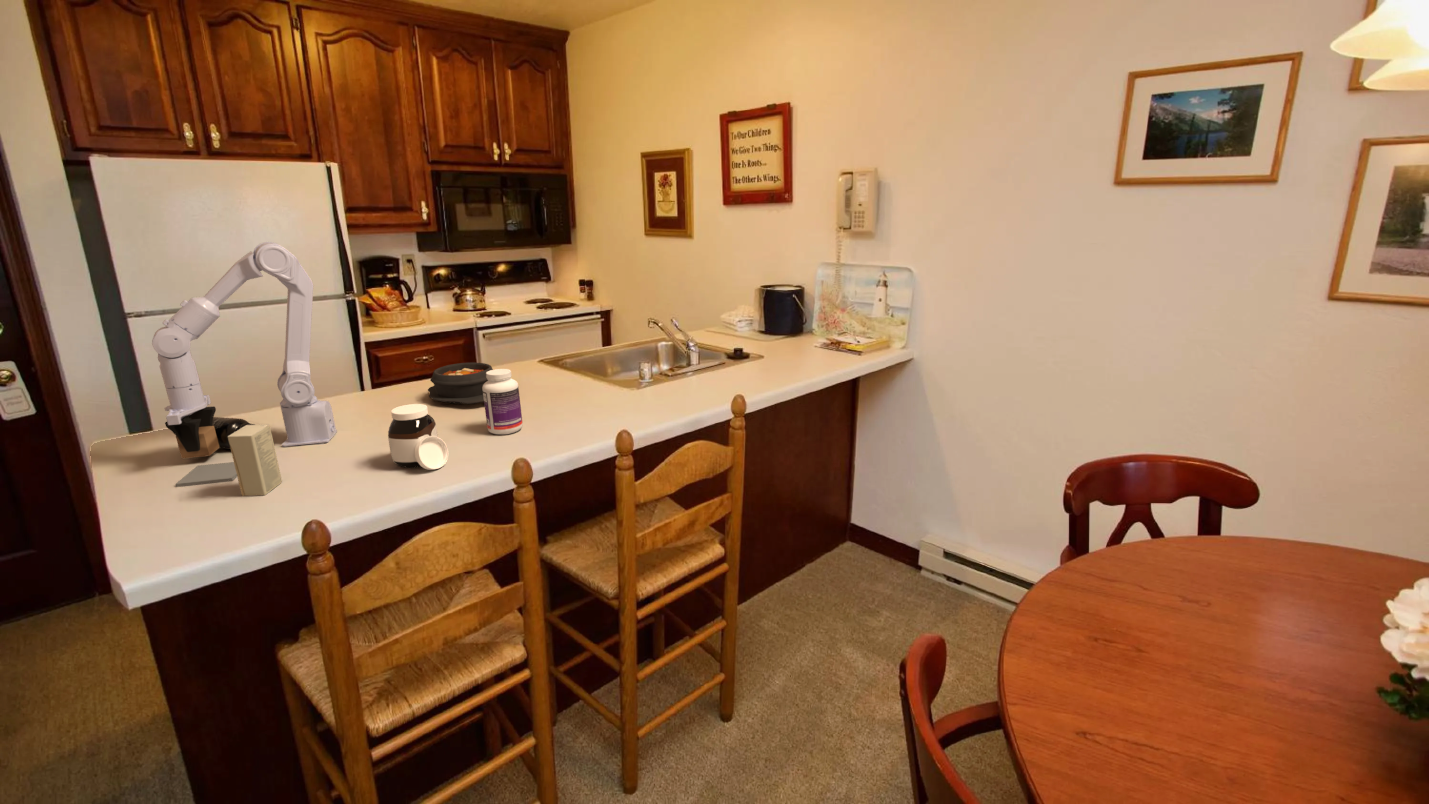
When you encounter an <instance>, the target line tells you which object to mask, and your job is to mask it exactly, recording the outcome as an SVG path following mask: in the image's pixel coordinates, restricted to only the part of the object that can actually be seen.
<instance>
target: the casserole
mask: <svg viewBox="0 0 1429 804" xmlns="http://www.w3.org/2000/svg"><path fill="white" fill-rule="evenodd" d="M490 370H494V369H493V367H492V366H491V364H489V363H484V362H461V363H453V364H447V365H443V366H440V367H438V368H436V369H434V370H433V372H432V376H431V377H430V382H431V383H433V385H432V386H430V387H428V389H427V391H428V393H429V395H428V396H429V397H430V399H432V400H435V401H438V402H444V403H449V404H461V405H462V404H465V405H466V404H467V405H471V404H473V405H474V404H479V403H484V397H483V389H482V387H483V385H484V383H485V382H487V381H488V380H487V378H486V372H488V371H490Z"/></svg>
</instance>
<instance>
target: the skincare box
mask: <svg viewBox="0 0 1429 804" xmlns="http://www.w3.org/2000/svg"><path fill="white" fill-rule="evenodd" d="M273 438H274V437H273V434H272V430H271V425H270V424H255V425H246V426H244V427H242V428H241V429H239V430H237V431H236V432H234V433H232V434H231V435H229V436H228V440H229V444H230V448H231V449H230V452H231V456H232V460H233V461H232V462H234V465H235V469H236V473H237V477H236V478H237V480H238V481H237V482H238V485H239V486H238V487H239V490H240V493H241V496H242V497H250V496H251V497H253V496H266V495H267V494H269V493H270V492H271V491H272V490H274V489H275V488H276V487H278V486H279V485H280V484H281V483H282V482H283V479H282V476H281V475H282V474H281V471H280V470H281V469H280V466H279V462H278V457H277V452H276V448H275V444H274V439H273Z"/></svg>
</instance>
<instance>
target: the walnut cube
mask: <svg viewBox="0 0 1429 804" xmlns="http://www.w3.org/2000/svg"><path fill="white" fill-rule="evenodd" d="M175 438H176V442H177V446H178V450H179V452H180V453H179V454H180V456H181V459H191V458H200V457H201V458H202V457H210V456H211V455H212V454H214V453H215V452H216V451H218V450H219V449H221V448H220V447H219V443H218V439H217V436H216V432H215V428H214V426H206V427H199V441H200V450H199V451H194V452H187V451H186V450H185V448H184V446H183V445H182V443H181V442H180V440H179V439H178V437H177V436H176V435H175Z"/></svg>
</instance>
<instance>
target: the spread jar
mask: <svg viewBox="0 0 1429 804" xmlns="http://www.w3.org/2000/svg"><path fill="white" fill-rule="evenodd" d="M390 413H391V418H392V420H391V422H390V425H389V427H388V431H387V433H388V434H387V437H388V439H387V440H388V446H389V452H390V456H391V460H392V461H393V463H394V464H395V465H397V466H399V467H402V468H408V469H409V468H410V469H412V468H414V467H415V468H421V467H422V468H423V469H425V470H429V471H433V470H437V469H441V468H442V467H443V466H445V465H446V463H447V461H448V459H449V448H448V446H447V444H446V442H445V441H444V440H443V439H442V438H441V437H438V435H439V434H438V428H437V424H436V421H435V419H434V418H433V417H432V416H431V415H430V414H429V412H428V406H427V405H426V404H423V403H412V404H405V405H404V404H403V405H399V406H397V407H394V408H393V409H391V411H390Z"/></svg>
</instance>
